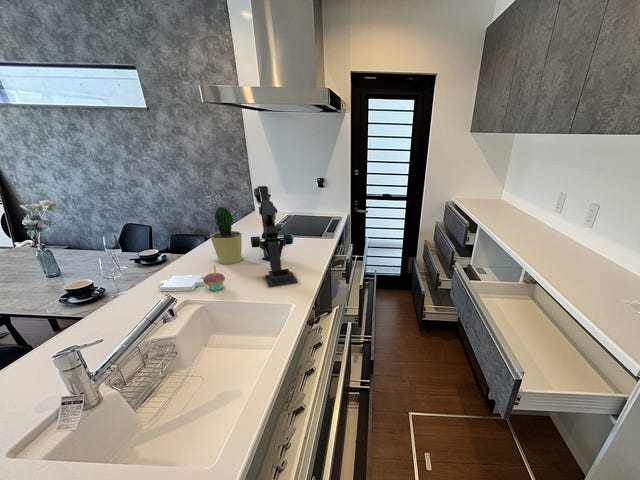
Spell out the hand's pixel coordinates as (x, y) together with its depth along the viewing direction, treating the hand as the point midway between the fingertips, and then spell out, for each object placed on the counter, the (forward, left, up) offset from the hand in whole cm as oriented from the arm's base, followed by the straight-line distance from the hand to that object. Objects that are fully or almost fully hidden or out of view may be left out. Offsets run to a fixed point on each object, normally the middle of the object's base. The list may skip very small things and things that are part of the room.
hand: (274, 256), depth 139 cm
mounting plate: (-35, -23, -13) cm, 43 cm away
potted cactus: (-42, +10, -13) cm, 45 cm away
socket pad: (0, +2, -12) cm, 13 cm away
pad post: (-1, +1, -7) cm, 7 cm away
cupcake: (-19, -19, -13) cm, 29 cm away
